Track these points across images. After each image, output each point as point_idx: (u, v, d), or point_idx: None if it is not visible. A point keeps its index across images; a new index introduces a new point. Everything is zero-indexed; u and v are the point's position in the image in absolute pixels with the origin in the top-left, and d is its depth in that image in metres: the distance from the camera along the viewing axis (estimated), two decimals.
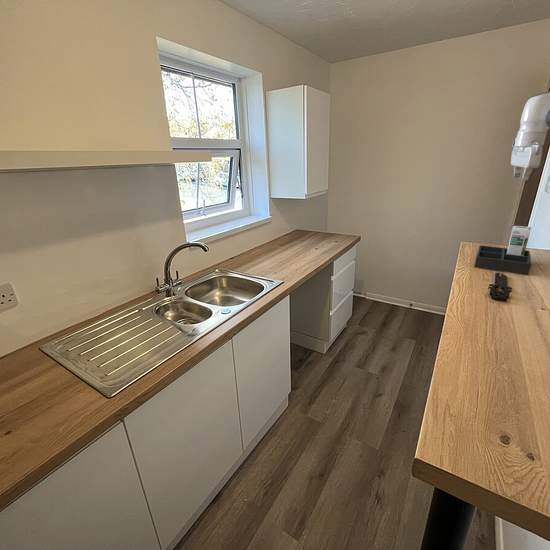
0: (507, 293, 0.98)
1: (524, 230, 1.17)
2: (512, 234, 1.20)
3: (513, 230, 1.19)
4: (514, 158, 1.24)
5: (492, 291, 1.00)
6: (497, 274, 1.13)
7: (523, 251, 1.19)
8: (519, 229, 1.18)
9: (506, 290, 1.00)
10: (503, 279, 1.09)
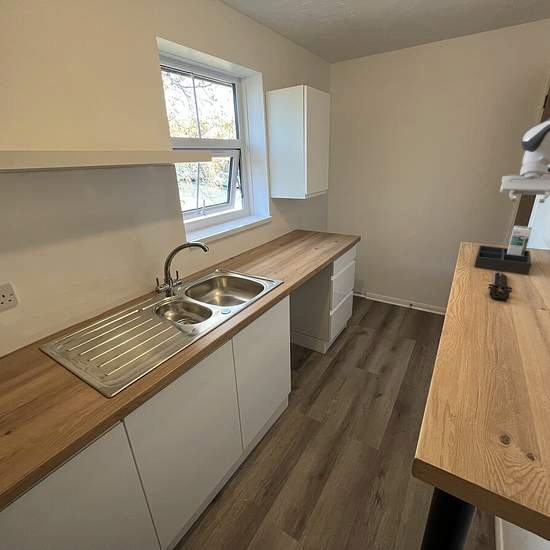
0: (507, 293, 0.98)
1: (525, 230, 1.17)
2: (513, 234, 1.20)
3: (514, 230, 1.19)
4: None
5: (492, 291, 1.00)
6: (497, 274, 1.13)
7: (523, 251, 1.19)
8: (520, 229, 1.18)
9: (506, 290, 1.00)
10: (503, 279, 1.09)
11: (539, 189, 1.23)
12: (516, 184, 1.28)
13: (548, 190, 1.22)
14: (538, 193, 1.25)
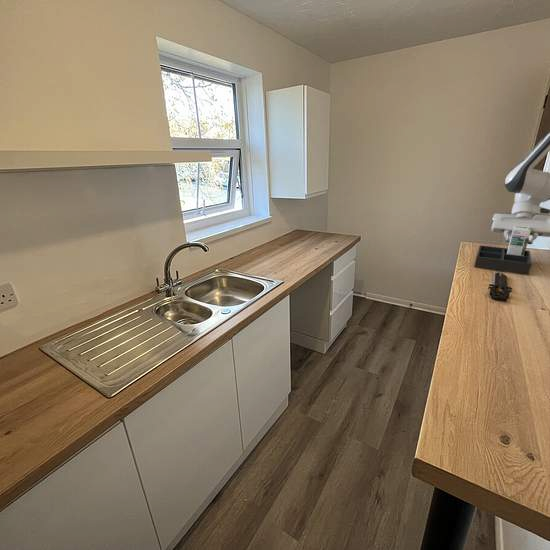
0: (507, 293, 0.98)
1: (524, 230, 1.17)
2: (512, 234, 1.20)
3: (513, 230, 1.19)
4: None
5: (492, 291, 1.00)
6: (497, 274, 1.13)
7: (523, 251, 1.19)
8: (519, 229, 1.18)
9: (506, 290, 1.00)
10: (503, 279, 1.09)
11: (531, 230, 1.19)
12: (508, 223, 1.24)
13: (540, 232, 1.18)
14: (530, 234, 1.21)
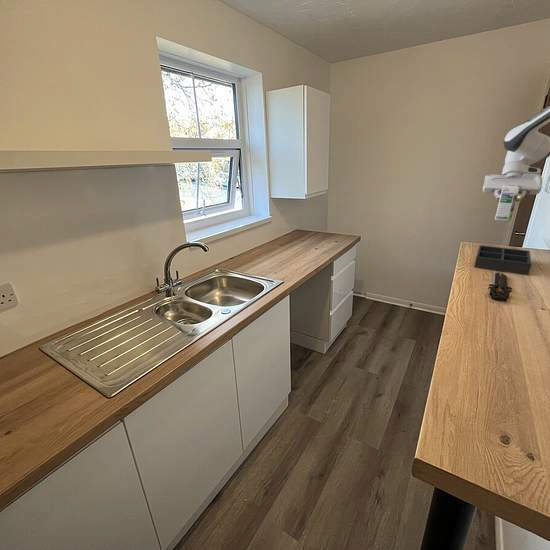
0: (507, 293, 0.98)
1: (513, 187, 1.24)
2: (502, 192, 1.27)
3: (503, 188, 1.26)
4: None
5: (492, 291, 1.00)
6: (497, 274, 1.13)
7: (512, 208, 1.26)
8: (509, 187, 1.25)
9: (506, 290, 1.00)
10: (503, 279, 1.09)
11: (520, 188, 1.26)
12: (498, 183, 1.31)
13: (528, 189, 1.25)
14: (519, 192, 1.28)
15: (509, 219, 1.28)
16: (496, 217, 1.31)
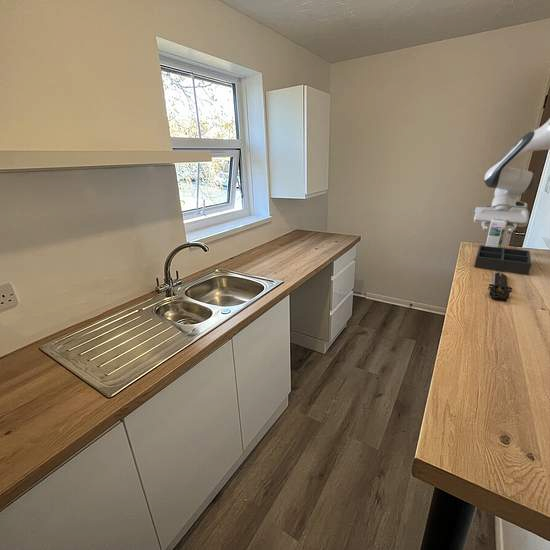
0: (507, 293, 0.98)
1: (501, 222, 1.32)
2: (491, 226, 1.35)
3: (492, 222, 1.34)
4: None
5: (492, 291, 1.00)
6: (497, 274, 1.13)
7: (500, 241, 1.34)
8: (497, 221, 1.33)
9: (506, 290, 1.00)
10: (503, 279, 1.09)
11: (508, 221, 1.34)
12: (488, 215, 1.39)
13: (515, 222, 1.33)
14: (507, 224, 1.36)
15: None
16: None
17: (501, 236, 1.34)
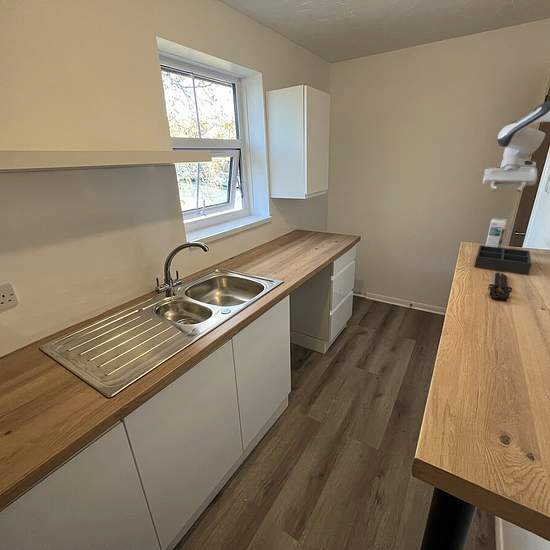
0: (507, 293, 0.98)
1: (501, 222, 1.32)
2: (491, 226, 1.35)
3: (492, 222, 1.34)
4: None
5: (492, 291, 1.00)
6: (497, 274, 1.13)
7: (500, 241, 1.34)
8: (497, 221, 1.33)
9: (506, 290, 1.00)
10: (503, 279, 1.09)
11: (517, 180, 1.38)
12: (497, 175, 1.42)
13: (524, 181, 1.36)
14: (516, 183, 1.40)
15: None
16: None
17: (501, 236, 1.34)
